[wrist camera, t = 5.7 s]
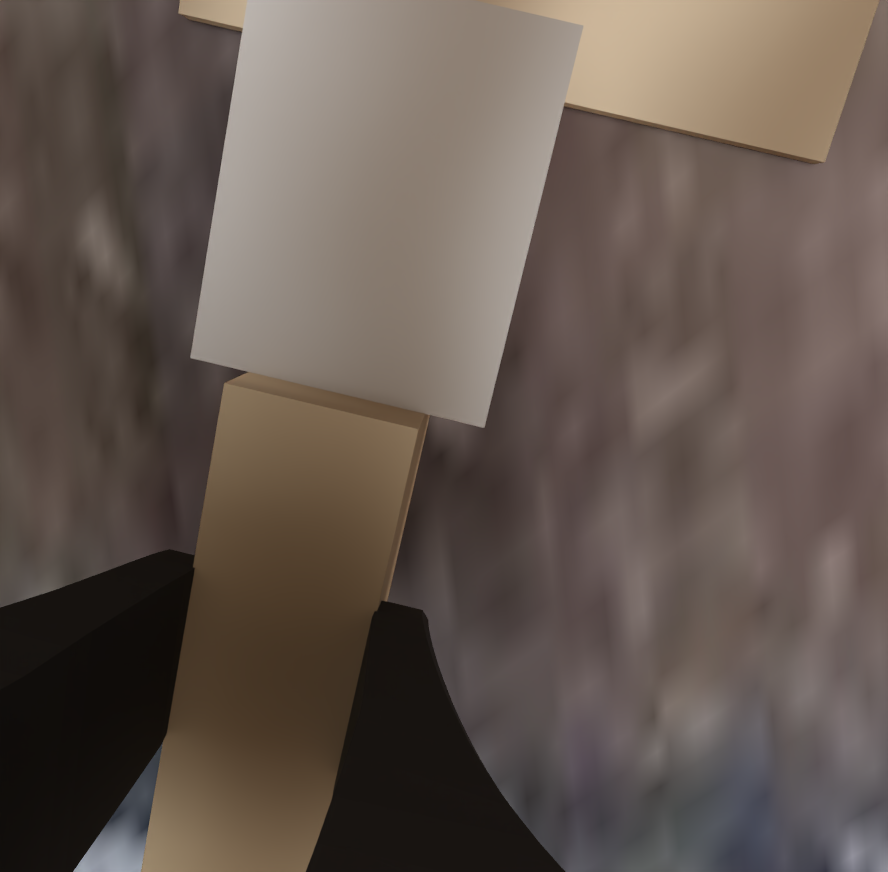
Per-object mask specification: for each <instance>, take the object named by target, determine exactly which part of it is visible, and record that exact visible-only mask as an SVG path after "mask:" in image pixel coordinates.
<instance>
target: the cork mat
mask: <svg viewBox="0 0 888 872" xmlns="http://www.w3.org/2000/svg"><path fill="white" fill-rule="evenodd" d="M476 1H480V2H484V3H488V4H493V5H497V6H501V7H506V8H510V9H514V10H519V11H523V12H527V13H531V14H536V15H540V16H544V17H549V18H553V19H557V20H561V21H566V22H570V23H574V24H579V25H583V30H582V34H581V38H580V42H579V46H578V50H577V54H576V58H575V62H574V67H573V71H572V75H571V79H570V83H569V87H568V91H567V95H566V99H565V103H564V106H565V107H570V108H574V109H578V110H582V111H587V112H591V113H595V114H600V115H604V116H608V117H613V118H617V119H621V120H626V121H630V122H634V123H639V124H643V125H647V126H652V127H656V128H660V129H665V130H669V131H673V132H678V133H682V134H686V135H691V136H695V137H699V138H704V139H708V140H712V141H717V142H721V143H725V144H730V145H734V146H738V147H743V148H747V149H751V150H756V151H760V152H764V153H769V154H773V155H777V156H782V157H786V158H790V159H795V160H799V161H803V162H808V163H812V164H818V163H824V162H825V160H826V157H827V154H828V151H829V148H830V145H831V142H832V139H833V136H834V133H835V130H836V127H837V124H838V121H839V118H840V115H841V113H842V110H843V107H844V104H845V101H846V98H847V95H848V92H849V89H850V86H851V83H852V80H853V77H854V74H855V71H856V68H857V65H858V62H859V59H860V56H861V53H862V50H863V47H864V45H865V42H866V39H867V36H868V33H869V30H870V27H871V24H872V21H873V18H874V15H875V12H876V9H877V6H878V3H879V0H476ZM246 5H247V0H180V5H179V14H181V15H182V16H184V17H186V18H187V19H189V20H193V21H197V22H201V23H206V24H210V25H214V26H219V27H223V28H227V29H232V30H236V31H240V32H242V30H243V24H244V18H245V12H246Z"/></svg>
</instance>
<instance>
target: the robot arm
mask: <svg viewBox="0 0 888 872" xmlns="http://www.w3.org/2000/svg"><path fill="white" fill-rule="evenodd" d="M194 558H195V555H191V554H186V553H182V552H178V551H174V550H170V549H169V550H165V551H162V552H158V553H155V554H152V555H149V556H146V557H143V558H140V559H138V560H135V561H132V562H130V563H127V564H124V565H121V566H119V567H116V568H114V569H111V570H108V571H106V572H103V573H100V574H98V575H95V576H92V577H89V578H87V579H84V580H81V581H79V582H76V583H73V584H70V585H68V586H65V587H62V588H60V589H57V590H54V591H51V592H48V593H45V594H42V595H38V596H35V597H32V598H29V599H26V600H23V601H20V602H17V603H14V604H10V605H7V606H4V607H1V608H0V872H73V871H74V869H75V868H76V867H77V865H78V864H79V862H80V861H81V859H82V858H83V857H84V855H85V854H86V852H87V851H88V849H89V848H90V847H91V845H92V844H93V842H94V841H95V839H96V838H97V837H98V835H99V834H100V832H101V831H102V829H103V828H104V827H105V825H106V824H107V822H108V821H109V819H110V818H111V817H112V815H113V814H114V812H115V811H116V809H117V808H118V807H119V805H120V804H121V802H122V801H123V800H124V798H125V797H126V795H127V794H128V792H129V791H130V789H131V788H132V787H133V785H134V784H135V782H136V781H137V779H138V778H139V776H140V775H141V774H142V772H143V771H144V769H145V768H146V766H147V765H148V763H149V762H150V761H151V759H152V758H153V756H154V755H155V753H156V752H157V750H158V749H159V747H160V746H161V744H162V742H163V740H164V738H165V736H166V734H167V729H168V723H169V717H170V712H171V706H172V700H173V694H174V688H175V682H176V676H177V671H178V665H179V659H180V653H181V647H182V641H183V635H184V629H185V624H186V618H187V612H188V606H189V600H190V594H191V588H192V583H193V577H194V571H195V568H194V567H193V564H194ZM306 872H565V871H564V870H563V869H562V868H561V867H560V865H559V864H558V863H557V862H556V861H555V860H554V859H553V858H552V856H551V855H550V854H549V853H548V852H547V851H546V850H545V849H544V847H543V846H542V845H541V844H540V843H539V842H538V840H537V839H536V838H535V837H534V835H533V834H532V833H531V832H530V830H529V829H528V828H527V827H526V825H525V824H524V823H523V822H522V820H521V819H520V818H519V816H518V815H517V814H516V813H515V811H514V810H513V809H512V808H511V806H510V805H509V803H508V802H507V801H506V799H505V798H504V797H503V795H502V794H501V792H500V791H499V789H498V788H497V786H496V784H495V783H494V781H493V780H492V778H491V776H490V775H489V773H488V772H487V770H486V768H485V767H484V765H483V763H482V761H481V760H480V758H479V756H478V754H477V753H476V751H475V749H474V747H473V745H472V743H471V741H470V739H469V737H468V735H467V733H466V731H465V729H464V727H463V725H462V723H461V721H460V719H459V717H458V714H457V712H456V710H455V707H454V705H453V703H452V701H451V698H450V695H449V693H448V690H447V688H446V685H445V682H444V680H443V677H442V675H441V672H440V669H439V666H438V663H437V660H436V656H435V653H434V649H433V646H432V642H431V638H430V633H429V627H428V619H427V617H426V615H425V614H424V612H423V610H420V609H416V608H411V607H407V606H403V605H399V604H395V603H391V602H386V601H381V603H380V605H379V607H378V610H377V611H374V614H373V616H372V619H371V624H370V628H369V633H368V637H367V642H366V646H365V651H364V655H363V660H362V664H361V668H360V673H359V677H358V682H357V686H356V691H355V695H354V700H353V704H352V709H351V713H350V718H349V722H348V727H347V731H346V736H345V740H344V745H343V749H342V753H341V758H340V762H339V767H338V771H337V776H336V780H335V785H334V790H333V795H332V800H331V803H330V806H329V808H328V811H327V814H326V817H325V820H324V823H323V826H322V828H321V831H320V834H319V837H318V840H317V843H316V846H315V848H314V851H313V854H312V856H311V859H310V862H309V864H308V867H307V870H306Z"/></svg>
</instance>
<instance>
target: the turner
mask: <svg viewBox="0 0 888 872" xmlns="http://www.w3.org/2000/svg"><path fill="white" fill-rule="evenodd" d="M582 30H583V25H579V24H574V23H570V22H566V21H561V20H557V19H553V18H549V17H544V16H540V15H536V14H531V13H527V12H523V11H519V10H514V9H510V8H506V7H501V6H497V5H493V4H488V3H484V2H480V1H476V0H247V5H246V12H245V18H244V24H243V30H242V37H241V43H240V49H239V56H238V62H237V68H236V74H235V81H234V87H233V93H232V99H231V106H230V112H229V118H228V125H227V131H226V137H225V143H224V150H223V156H222V162H221V169H220V175H219V181H218V187H217V194H216V200H215V206H214V212H213V219H212V225H211V231H210V238H209V244H208V250H207V256H206V263H205V269H204V275H203V282H202V288H201V294H200V300H199V307H198V313H197V319H196V325H195V332H194V338H193V344H192V351H191V357H190V358H193V359H197V360H201V361H205V362H209V363H214V364H218V365H222V366H226V367H230V368H235V369H239V370H243V371H247V372H248V373H245V374H243V375H241V376H239V377H236V378H234V379H232V380H230V381H228V382H225V383H224V387H223V393H222V399H221V405H220V411H219V417H218V423H217V428H216V434H215V440H214V446H213V452H212V458H211V464H210V470H209V475H208V481H207V487H206V493H205V499H204V505H203V511H202V517H201V522H200V528H199V534H198V540H197V546H196V552H195V558H194V564H193V567H194V568H195V571H194V577H193V583H192V588H191V594H190V600H189V606H188V612H187V618H186V624H185V629H184V635H183V641H182V647H181V653H180V659H179V665H178V671H177V676H176V682H175V688H174V694H173V700H172V706H171V712H170V717H169V723H168V729H167V734H166V736H165V738H164V740H163V746H162V752H161V758H160V764H159V769H158V775H157V781H156V787H155V793H154V799H153V805H152V811H151V816H150V822H149V828H148V834H147V840H146V846H145V852H144V858H143V864H142V869H141V872H306V870H307V867H308V864H309V862H310V859H311V856H312V854H313V851H314V848H315V846H316V843H317V840H318V837H319V834H320V831H321V828H322V826H323V823H324V820H325V817H326V814H327V811H328V808H329V806H330V803H331V800H332V795H333V790H334V785H335V780H336V776H337V771H338V767H339V762H340V758H341V753H342V749H343V745H344V740H345V736H346V731H347V727H348V722H349V718H350V713H351V709H352V704H353V700H354V695H355V691H356V686H357V682H358V677H359V673H360V668H361V664H362V660H363V655H364V651H365V646H366V642H367V637H368V633H369V628H370V624H371V619H372V616H373V614H374V611H377V610H378V607H379V605H380V603H381V601H386V602H387V600H388V595H389V591H390V587H391V582H392V578H393V574H394V569H395V565H396V561H397V556H398V552H399V548H400V543H401V539H402V535H403V530H404V526H405V522H406V517H407V513H408V509H409V504H410V500H411V496H412V491H413V487H414V483H415V478H416V474H417V470H418V465H419V461H420V457H421V452H422V448H423V444H424V439H425V435H426V431H427V426H428V422H429V418H430V415H432V416H436V417H440V418H445V419H449V420H453V421H457V422H462V423H466V424H470V425H474V426H478V427H483V428H484V427H485V423H486V419H487V415H488V411H489V407H490V403H491V398H492V394H493V390H494V386H495V382H496V378H497V374H498V370H499V366H500V362H501V358H502V354H503V350H504V346H505V342H506V338H507V334H508V330H509V326H510V322H511V318H512V313H513V309H514V305H515V301H516V297H517V293H518V289H519V285H520V281H521V277H522V273H523V269H524V265H525V261H526V257H527V253H528V249H529V245H530V241H531V237H532V233H533V228H534V224H535V220H536V216H537V212H538V208H539V204H540V200H541V196H542V192H543V188H544V184H545V180H546V176H547V172H548V168H549V164H550V160H551V156H552V152H553V147H554V143H555V139H556V135H557V131H558V127H559V123H560V119H561V115H562V111H563V107H564V103H565V99H566V95H567V91H568V87H569V83H570V79H571V75H572V71H573V67H574V62H575V58H576V54H577V50H578V46H579V42H580V38H581V34H582Z"/></svg>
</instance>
